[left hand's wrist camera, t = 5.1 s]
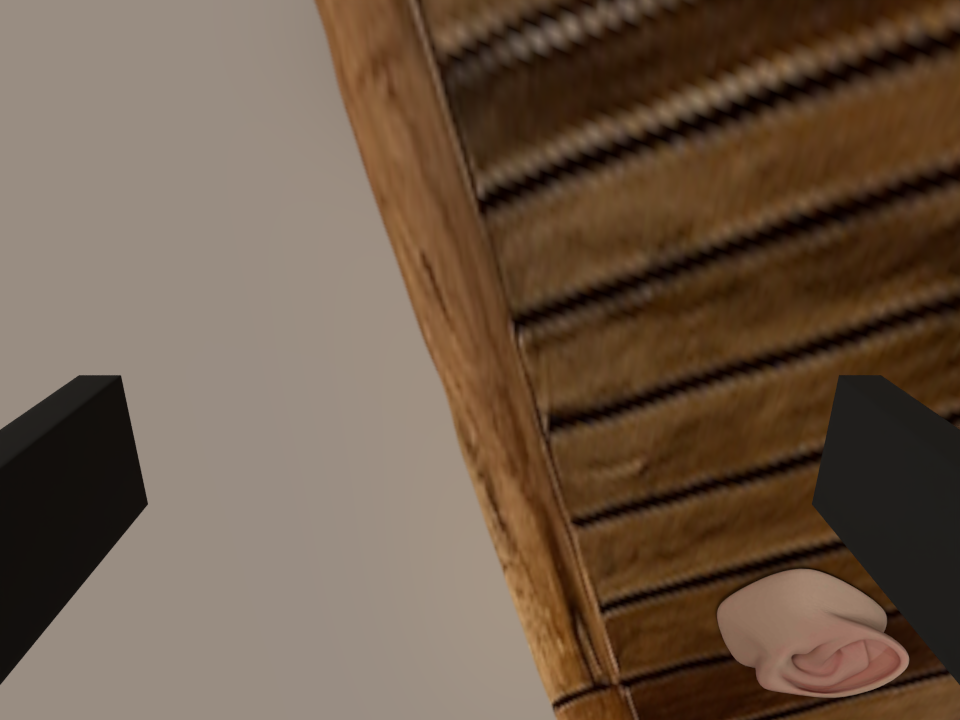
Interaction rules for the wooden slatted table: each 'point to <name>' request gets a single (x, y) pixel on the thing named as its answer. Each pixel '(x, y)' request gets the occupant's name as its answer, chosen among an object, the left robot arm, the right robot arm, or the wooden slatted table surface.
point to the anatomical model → (810, 635)
